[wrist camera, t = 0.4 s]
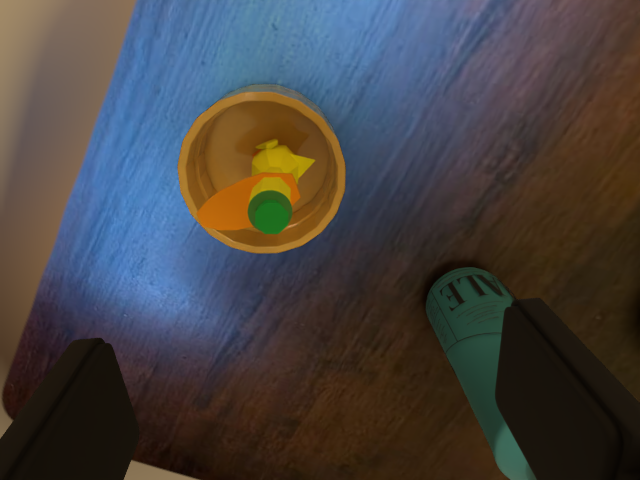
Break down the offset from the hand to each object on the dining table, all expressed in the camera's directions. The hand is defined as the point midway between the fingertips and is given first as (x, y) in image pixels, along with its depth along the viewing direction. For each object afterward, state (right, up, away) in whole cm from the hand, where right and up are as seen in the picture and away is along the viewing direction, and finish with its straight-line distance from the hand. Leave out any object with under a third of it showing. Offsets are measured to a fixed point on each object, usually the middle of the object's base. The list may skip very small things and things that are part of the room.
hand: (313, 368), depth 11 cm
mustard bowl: (-4, +9, +21) cm, 23 cm away
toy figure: (-4, +9, +21) cm, 23 cm away
